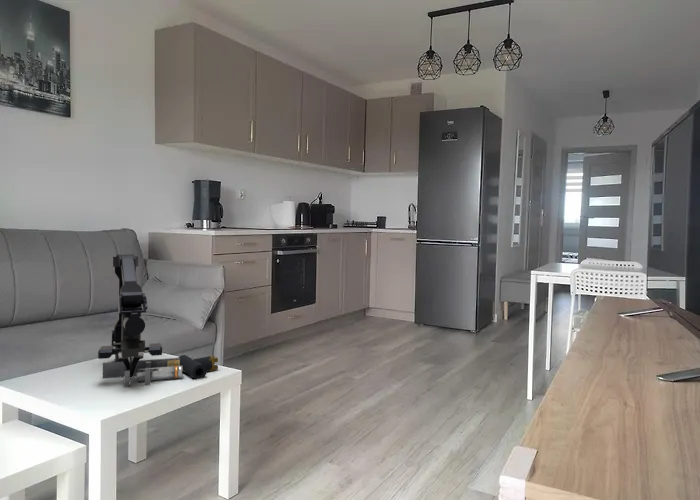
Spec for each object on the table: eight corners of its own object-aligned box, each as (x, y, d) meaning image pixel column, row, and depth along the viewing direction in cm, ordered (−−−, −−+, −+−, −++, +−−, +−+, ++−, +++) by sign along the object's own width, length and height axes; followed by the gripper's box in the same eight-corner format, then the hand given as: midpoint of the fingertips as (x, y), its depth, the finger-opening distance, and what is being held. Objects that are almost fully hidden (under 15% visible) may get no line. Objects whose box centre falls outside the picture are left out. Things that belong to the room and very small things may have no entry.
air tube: (136, 383, 162) (136, 370, 162) (136, 379, 166) (136, 367, 166) (182, 379, 167) (182, 367, 167) (181, 376, 171) (181, 364, 171)
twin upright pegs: (126, 377, 167) (126, 362, 167) (150, 376, 170) (150, 361, 170) (124, 386, 158) (124, 370, 158) (150, 384, 161) (150, 369, 161)
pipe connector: (206, 350, 185) (224, 359, 174) (206, 364, 186) (224, 375, 174) (175, 355, 178) (192, 365, 167) (175, 370, 178) (192, 381, 167)
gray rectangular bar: (102, 377, 167) (102, 362, 167) (179, 371, 175) (179, 357, 175) (101, 381, 163) (101, 366, 163) (179, 375, 171) (180, 360, 171)
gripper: (96, 335, 152) (95, 387, 152) (162, 332, 158) (161, 382, 159) (100, 328, 162) (100, 376, 163) (162, 326, 169) (161, 372, 169)
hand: (131, 377), depth 163 cm, fingers closed
